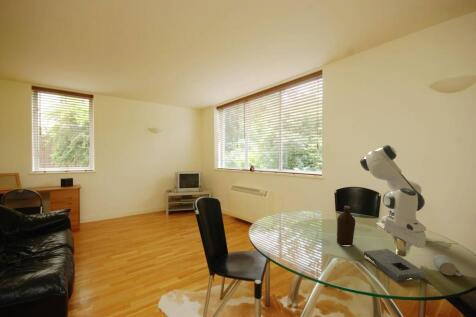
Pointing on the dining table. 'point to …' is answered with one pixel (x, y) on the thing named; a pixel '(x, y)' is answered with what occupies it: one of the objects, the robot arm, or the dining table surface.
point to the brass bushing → (401, 247)
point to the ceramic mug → (445, 265)
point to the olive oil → (345, 227)
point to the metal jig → (394, 265)
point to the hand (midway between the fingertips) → (401, 246)
